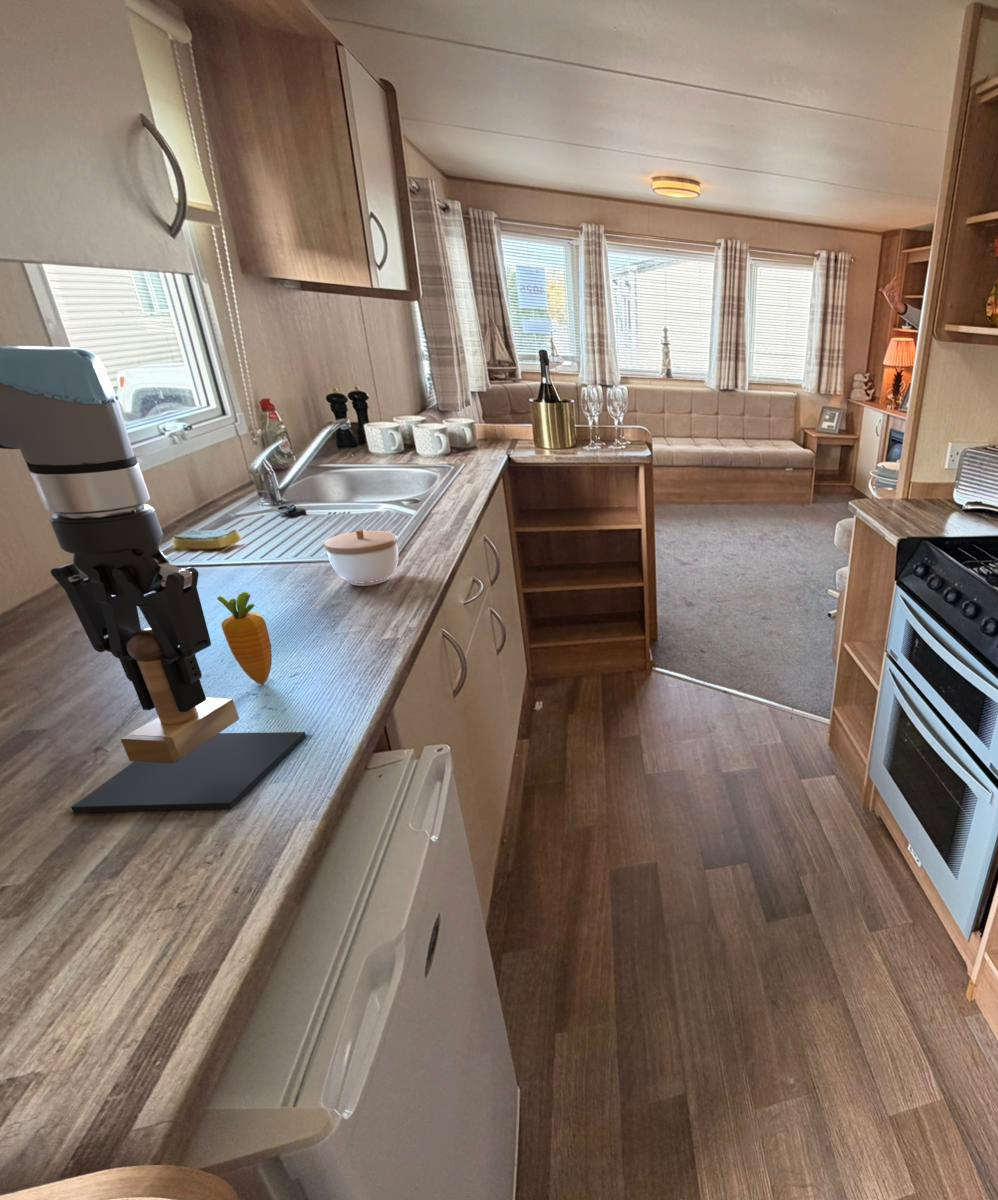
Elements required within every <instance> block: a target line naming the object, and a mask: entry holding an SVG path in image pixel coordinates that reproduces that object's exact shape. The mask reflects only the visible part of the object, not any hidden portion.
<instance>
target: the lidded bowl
mask: <svg viewBox="0 0 998 1200" xmlns="http://www.w3.org/2000/svg"><path fill="white" fill-rule="evenodd" d="M323 545H324V549H325V550H326V554H327V557H328V560H329V563H330V566H331V567H332V569H333V571H334V572H335V573H336V574H337V575H338V576H339V577H340V578H342V579H343V580H345V581H347V582H349V581H351V582H349V584H350V585H351V586H356V587H366V586H367V587H369V586H375V585H380V584H382V583H385V582H387V581H388V580H390V577H391V576H392V575H393V573H394V572H395V571H396V569H397V566H398V563H399V546H398V538H397V535H396V534H395V533H394V532H390V531H383V530H363V529H356V530H355V531H351V532H345V533H341V534H338V535H334V536H332V537H330V538H328V539H326V540H325V541H324V543H323ZM388 576H389V577H388ZM386 577H387V578H386ZM384 578H385V579H384ZM380 579H382V580H380ZM376 580H378V581H376ZM370 581H373V582H370ZM355 582H364V583H355Z"/></svg>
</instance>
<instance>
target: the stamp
mask: <svg viewBox="0 0 998 1200" xmlns="http://www.w3.org/2000/svg"><path fill="white" fill-rule="evenodd" d="M126 647H127V652H128V654H129V655H130V656H131V657H132V658H133V659H135V660H137V663H138V666H139V668H140V671H141V673H142V676H143V678H144V681H145V683H146V686H147V689H148V691H149V694H150V696H151V699H152V701H153V704H154V707H155V708H154V710H155V711H156V714H157V717H155V718H153V719H152V720H150V721H148V722H147V723H145V724H143V725H142V726H140V727H138V728H136V729H135V730H132V732H129V733H128V734H127V735H124V736H123V737H122V738H120V742H121V744H122V747H123V749H124V751H125V754H126V756H127V758H128V760H129V762H134V761H141V762H160V763H175V762H176V761H178V760H179V759H181V758H183V757H184V756H186V755H187V754H188V753H190V752H191V751H193V750H194V749H196V748H197V747H199V746H200V745H202V744H203V743H205V742H206V741H208V740H209V739H211V738H212V737H214V736H215V735H217V734H218V733H222V732H223V731H224V730H226V729H227V728H229V727H231V726H232V725H233V724H235V723H236V722H238V721H240V716H239V714H238V711H237V707H236V704H235V701H234V699H233V698H223V697H206V699H207V700H205V701H203V702H202V703H200V704H199V705H197V706H195V707H194V708H192V709H190V710H189V711H187V712H179V709H178V707H177V704H176V701H175V699H174V696H173V693H172V691H171V688H170V685H169V682H168V680H167V677H166V674H165V672H164V669H163V666H162V664H161V659H163V658H165V657H167V656H166V654H165V653H164V651H163V649H162V647H161V645H160V644H159V642H158V640H157V638H156V637H155V635H154V633H153V631H152V629H151V628H150V627H145V628H143V629H142V628H141V630H139V631H137V632H136V633H134V634H133V635H132V636H131V637H130V638H129V640H128V641H127V646H126Z"/></svg>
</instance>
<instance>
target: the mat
mask: <svg viewBox="0 0 998 1200" xmlns="http://www.w3.org/2000/svg"><path fill="white" fill-rule="evenodd" d="M306 737H307V735H306V732H305V731H293V732H292V731H286V732H285V731H284V732H282V731H279V732H277V731H276V732H275V731H274V732H220V733H218V734H217V735H215V736H214V737H212V738H211V739H209V740H208V741H206V742H205V743H203V744H202V745H200V746H199V747H197V748H196V749H194V750H193V751H191V752H190V753H188V754H187V755H186V756H184V757H183V758H181V759H179V760H178V761H176V762H175V763H160V762H141V761H132V762H131V763H130V764H128V765H127V766H126V767H124V768H123V769H121V770H120V771H118V772H117V773H116V774H114V775H113V776H112V777H110V778H109V779H107V780H106V781H105V782H104V783H102V784H100V785H99V786H98V787H97V788H95V789H94V790H92V791H91V792H89V793H88V794H87V795H86V796H84V797H83V798H81V799H80V800H78V801H77V802H76V803H74V804H73V805H72V806H70V809H71V810H72V813H74V814H75V813H108V812H146V811H148V812H149V811H150V812H151V811H182V810H183V811H184V810H185V811H186V810H188V811H189V810H223V809H224V810H225V809H233V808H234V807H235V806H236V805H237V804H238V803H239V802H240V801H242V799H243V798H244V797H245V796H247V794H248V793H249V792H250V791H252V789H254V787H256V786H257V785H258V783H260V782H261V781H262V780H263V779H264V778H265V777H266V776H267V775H268V774H269V773H270V772H271V771H272V770H273V769H275V767H276V766H278V764H280V763H281V762H282V761H283V759H284V758H286V757H287V756H288V755H289V754H290V753H291V752H292V751H293V750H294V749H295V748H296V747H297V746H298V745H299V744H301V743H302V741H304V739H306Z"/></svg>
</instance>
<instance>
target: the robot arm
mask: <svg viewBox="0 0 998 1200" xmlns="http://www.w3.org/2000/svg"><path fill="white" fill-rule="evenodd" d="M0 449H4V450H19V451H20V453H21V455H22V457H23V460H24V462H25V463H26V467H27V469H28V472H29V474H30V476H31V479H32V482H33V485H34V487H35V490H36V493H37V495H38V497H39V499H40V503H41V505H42V507H43V509H44V510H46V511H48V512H50V513H53V514H52V515H51V517H50V518H49V523H50V526H51V528H52V530H53V533H54V535H55V538H56V539H57V543H58V545H59V547H60V549H62V551H64V552H66V553H69V554H73V557H72V561H73V562H70V563H67V564H63V565H60V566H56V567H54V568H51V570H50V574H51V576H52V577H53V578H54V579H55V580H56V581H57V583H59V585H60V586H61V588H63V589H64V592H65V593H66V595H67V597H68V599H69V602H70V603H71V605H72V607H73V609H74V612H75V613H76V615H77V618H78V619H79V621H80V624H81V625H82V628H83V630H84V632H85V634H86V636H87V638H88V640H89V642H90V644H91V647H92V648H93V649H94V650H95V651H96V652H97V653H103V652H104V653H105V652H108V653H111V654H112V656H113V657H115V658H116V659H119V662H120V664H121V667H122V670H123V672H124V674H125V677H126V678H127V679H128V681H129V682H132V685H133V689H134V691H135V693H136V696H137V699H138V700H139V703H140V705H141V709H142V710H143V711H151V710H153V709H155V707H154V704H153V701H152V699H151V696H150V694H149V691H148V689H147V686H146V683H145V681H144V678H143V676H142V673H141V671H140V668H139V666H138V663H137V660H135V659H133V658H132V657H131V656H130V655H129V654H128V652H127V647H126V646H127V641H128V640H129V638H130V637H131V636H132V635H133V634H134V633H136V632H137V631H139V630H142V626H141V621H140V617H139V612H138V608H139V610H140V611H141V613H142V615H143V617H144V619H145V621H146V622H147V625H148V626H149V628H151V629H152V631H153V633H154V635H155V637H156V638H157V640H158V642H159V644H160V645H161V647H162V649H163V651H164V653H165V654H166V656H167V657H165V658H163V659H161V664H162V666H163V669H164V672H165V674H166V677H167V680H168V682H169V685H170V688H171V691H172V693H173V696H174V699H175V701H176V704H177V707H178V709H179V712H187V711H189V710H190V709H192V708H194V707H195V706H197V705H199V704H200V703H202V702H203V701H205V700H207V699H206V698H207V697H206V694H205V691H204V688H203V686H202V683H201V681H200V680H201V679H202V677H203V676H202V675H203V674H202V671H201V668H200V665H199V662H198V660H197V657H196V654H198V653H199V652H202V651H203V650H205V649H207V648H209V647H211V646H212V642H211V638H210V637H211V636H210V633H209V630H208V626H207V621H206V618H205V614H204V610H203V607H202V603H201V599H200V595H199V591H198V581H199V575H200V574H199V571H198V570H197V569H196V567H193V566H188V567H186V568H181V567H178V566H176V565H173V564H172V563H170V560H169V558H168V557H167V556H166V555H165V554H164V553H163V551H162V550H161V549H160V543H161V541H162V539H163V538H164V532H163V530H162V527H161V524H160V521H159V518H158V515H157V512H156V509H155V508H154V507H153V506H151V505H150V504H147V502H149V501H150V500H151V496H150V494H149V490H148V487H147V485H146V481H145V479H144V475H143V473H142V470H141V467H140V464H139V463H138V459H137V456H136V454H135V453H134V450H133V447H132V444H131V441H130V437H129V434H128V431H127V427H126V424H125V420H124V417H123V412H122V409H121V406H120V402H119V395H118V393H117V391H116V390H114V388H113V385H112V382H111V381H110V378H109V376H108V372H107V371H106V368H105V366H104V364H103V362H102V360H101V359H100V357H99V356H98V355H97V354H95V353H94V352H92V351H90V350H88V349H85V348H81V347H70V346H43V345H41V346H40V345H0ZM106 636H107V637H106Z"/></svg>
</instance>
